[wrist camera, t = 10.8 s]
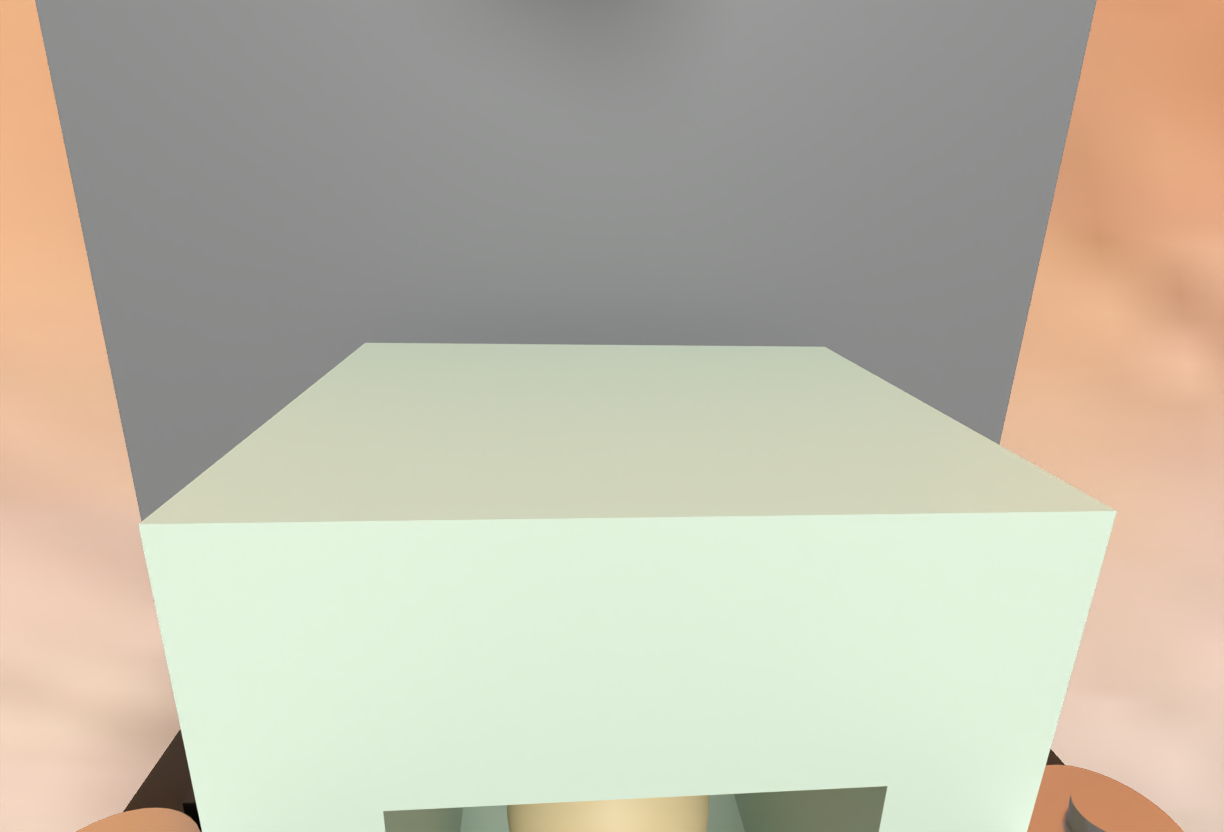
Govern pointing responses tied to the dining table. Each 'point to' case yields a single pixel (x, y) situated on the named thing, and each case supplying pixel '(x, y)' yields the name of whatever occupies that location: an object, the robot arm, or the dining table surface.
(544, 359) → the collar
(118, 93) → the board
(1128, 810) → the robot arm
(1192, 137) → the dining table surface
